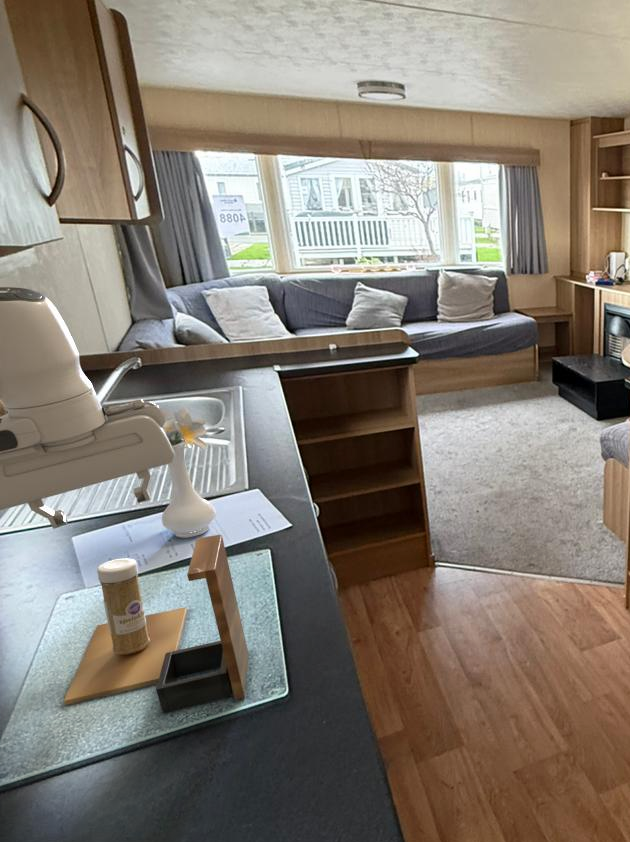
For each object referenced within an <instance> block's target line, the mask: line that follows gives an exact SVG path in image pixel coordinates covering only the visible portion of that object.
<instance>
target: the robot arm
mask: <svg viewBox="0 0 630 842" xmlns="http://www.w3.org/2000/svg"><path fill="white" fill-rule="evenodd" d="M0 401H1V402H2V404H3V405H4V407H5V409H6V411H7V413H5V414H3V415H1V416H0V511H5V510H7V509H10V508H15V507H19V506H22V505H26V504H27V505H28V506H29V508H30V510H31V511H32V512H34V513H36V514H38V515H40V516H42V517H43V518H45V519H48V521H49V524H50V525H51V528H52V529H55V530H56V529H58V528H62V527H65V526H67V525H68V518H67V517H66V515H65V513H64V511H63V509H59V510H53V509H52V508H50V507H49V506H47V505H45V503H46V499H47V498H50V497H54V496H58V495H61V494H65V493H68V492H72V491H76V490H80V489H83V488H87V487H90V486H93V485H97V484H100V483H105V482H108V481H111V480H116V479H119V478H122V477H125V476H130V475H133V474H136V476H137V478H138V479H139V480H141V481H140V485H139V486H138V487H134V488H133V489H132V490H133V494H134V497H135V498H136V502H137V503H138V504H141V503H145V502H148V501H151V499H152V498H151V496H150V493H149V490H148V488H149V485H150V481H151V477H152V475H151V471H150V470H151V469H155V468H158V467H159V468H160V467H162V466H166V465H167V464H169V463H171V462H172V460H173V458H174V456H175V453H174V451H173V448H172V446H171V444H170V442H169V439H168V437H167V436H166V434H165V432H164V430H163V429H162V427H163V425H164V417H163V414H162V413H163V411H162V409H161V407H160V406H159V405H158V404H156V403H154V402H152V401H144V400H143V399H136V400H135V399H134V400H132V401H130V402H125V403H119V404H114V405H110V406H105V407H102V404H101V401H100V400H99V398H98V396H97V392H96V391H95V388H94V386H93V384H92V382H91V381H90V380H89V379H88V377H87V376H86V375H85V373H84V371H83V370H82V367H81V363H80V353H79V350H78V348H77V346H76V343H75V341H74V339H73V336H71V333H70V331H69V328H68V327H67V325H66V323H65V321H64V320H63V318H62V316H61V314H60V313H59V311H58V310H57V308H56V306H55V305H54V304H53V303H52V301H51V300H50V299H48V297H46V295H44V293H41V292H39V291H35V290H33V289H29V288H24V287H13V286H12V287H11V286H2V287H1V286H0Z"/></svg>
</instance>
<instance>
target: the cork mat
mask: <svg viewBox="0 0 630 842" xmlns="http://www.w3.org/2000/svg"><path fill="white" fill-rule="evenodd" d="M187 615H188V608H187V606H186V607H180V608H175V609H171V610H170V609H169V610H167V611H161V612H155V613H151V614H145V618H146V628H147V632H148V637H149V639H150V642H149V644H148V646H147V647H145V648H144V649H142V650H140V651H137V652H135V653H131V654H125V655H121V654H116V653H114V651H113V643H112V637H111V633H110V631H109V626H108V622H106V623H102V624H97V626H96V628H95V630H94V631H93V634H92V637H91V639H90V641H89V643H88V646H87V648H86V649H85V652H84V654H83V657H82V659H81V661H80V663H79V666H78V668H77V669H76V670H77V671H76V673H75V674H74V677H73V679H72V681H71V684H70V686H69V689H68V690H67V692H66V695H65V697H64V700H63V703H64V706H69V705H75V704H77V703H81V702H86V701H91V700H95V699H99V698H103V697H107V696H111V695H115V694H120V693H123V692H127V691H132V690H136V689H141V688H145V687H149V686H153V685H157V684H158V680H159V676H160V672H161V669H162V665H163V661H164V657H165V654H166V653H168V652H172V651H177V650H179V648H180V643H181V639H182V636H183V631H184V628H185V623H186V619H187Z"/></svg>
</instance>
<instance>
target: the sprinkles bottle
mask: <svg viewBox="0 0 630 842" xmlns="http://www.w3.org/2000/svg"><path fill="white" fill-rule="evenodd" d="M96 570H97V572H96V573H97V578H98V581H99V583H100V585H101V590H102V596H103V605H104V609H105V615H106V621H107V623H108V626H109V631H110V633H111V637H112V643H113V651H114V653H116V654H121V655H125V654H131V653H135V652H137V651H140V650H142V649H144V648H145V647H147V646H148V644H149V642H150V639H149V637H148V632H147V628H146V618H145V616H146V613H145V607H144V602H143V598H142V593H141V587H140V583H139V577H138V576H139V568H138V563H137V561H136V560H135V559H133V558H130V557H129V558H127V557H125V558H123V557H122V558H116V559H112V560H108V561H106V562H103V563H102V564H100V565H99V566H98V567H97V569H96Z"/></svg>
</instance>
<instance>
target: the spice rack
mask: <svg viewBox="0 0 630 842" xmlns="http://www.w3.org/2000/svg"><path fill="white" fill-rule="evenodd" d="M186 576H187V579H188V582H192V581H197V580H203V579H205V582H206V585H207V591H208V594H209V598H210V601H211V606H212V610H213V614H214V618H215V623H216V627H217V631H218V635H219V639H220V640H216V641H212V642H207V643H204V644H200V645H195V646H191V647H186V648H180V649H178V650H177V651H172V652H168V653H166V654H165V657H164V661H163V665H162V669H161V672H160V676H159V680H158V684H156V688H155V692H156V695H157V699H158V702H159V705H160V709H161V713H162V714H163V715H165V714H168V713H173V712H177V711H180V710H181V711H182V710H184V709H188V708H192V707H196V706H200V705H204V704H208V703H212V702H217V701H220V700H224V699H228V698H231V697H233V698H234V701H238V700H241V699H245V698H246V690H247V689H246V687H247V679H248V678H247V677H248V664H249V649H248V646H247V641H246V636H245V632H244V628H243V623H242V618H241V615H240V609H239V605H238V601H237V597H236V592H235V587H234V583H233V578H232V574H231V569H230V565H229V561H228V556H227V552H226V546H225V542H224V538H223V535H222V534H221V533H220V534H215V535H210V536H203V537H198V538H196V541H195V544H194V548H193V552H192V555H191V559H190V563H189V567H188V570H187V574H186ZM217 669H219V670H217ZM212 670H217V671H214V672H210V673H205V674H200V673H204V672H208V671H212ZM195 674H200V675H197V676H192V677H188V678H184V679H179V678H183V677H187V676H191V675H195ZM178 679H179V680H178Z"/></svg>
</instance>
